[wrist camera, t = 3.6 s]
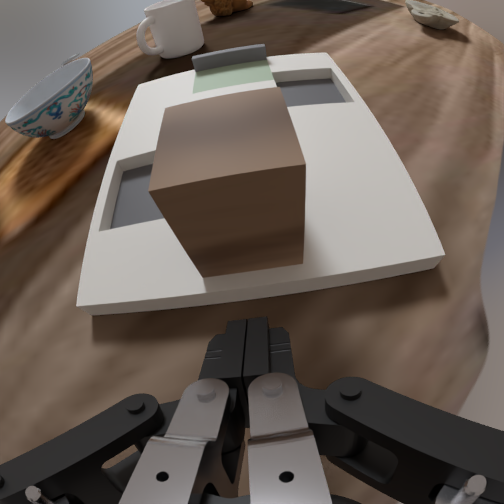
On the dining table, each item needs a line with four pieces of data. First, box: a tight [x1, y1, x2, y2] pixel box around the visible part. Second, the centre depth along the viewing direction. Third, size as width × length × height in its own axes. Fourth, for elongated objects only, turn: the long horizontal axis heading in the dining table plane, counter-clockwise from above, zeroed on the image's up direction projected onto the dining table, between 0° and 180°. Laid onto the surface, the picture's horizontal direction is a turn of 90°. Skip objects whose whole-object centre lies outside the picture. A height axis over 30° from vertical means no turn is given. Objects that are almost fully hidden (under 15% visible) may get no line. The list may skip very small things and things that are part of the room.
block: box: [148, 87, 306, 278], centre depth 16 cm, size 6×6×8 cm
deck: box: [76, 44, 445, 315], centre depth 24 cm, size 30×25×4 cm
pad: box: [192, 60, 274, 94], centre depth 31 cm, size 7×9×2 cm
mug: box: [137, 0, 204, 59], centre depth 37 cm, size 12×8×10 cm
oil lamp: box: [406, 0, 459, 30], centre depth 42 cm, size 21×14×5 cm
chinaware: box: [5, 58, 93, 139], centre depth 32 cm, size 15×15×8 cm
